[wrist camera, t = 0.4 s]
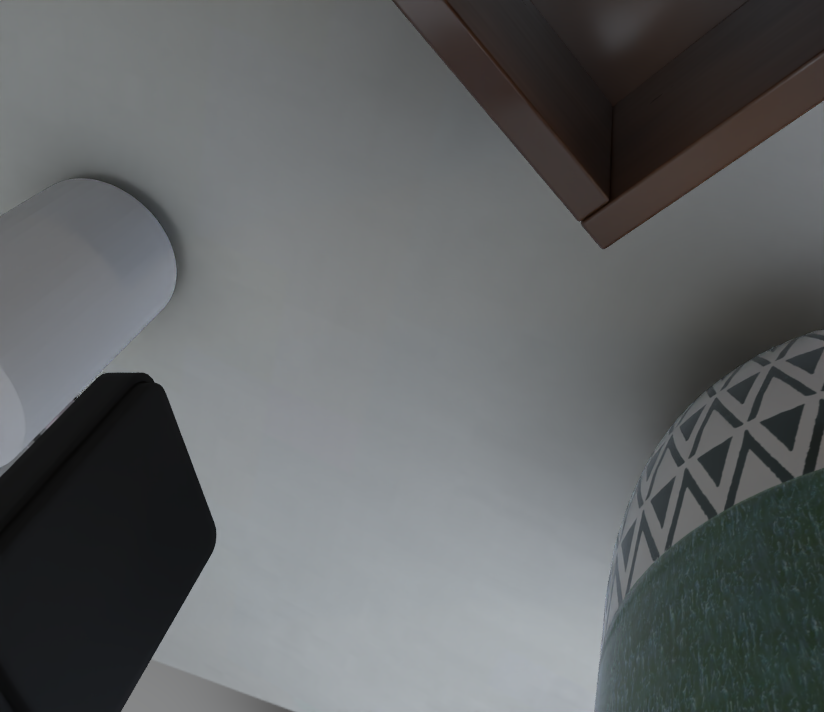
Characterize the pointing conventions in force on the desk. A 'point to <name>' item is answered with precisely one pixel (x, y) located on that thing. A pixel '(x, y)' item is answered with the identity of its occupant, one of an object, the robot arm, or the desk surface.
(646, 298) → the desk surface
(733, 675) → the planter
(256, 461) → the desk surface
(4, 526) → the robot arm
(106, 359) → the beverage can
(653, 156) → the chest
